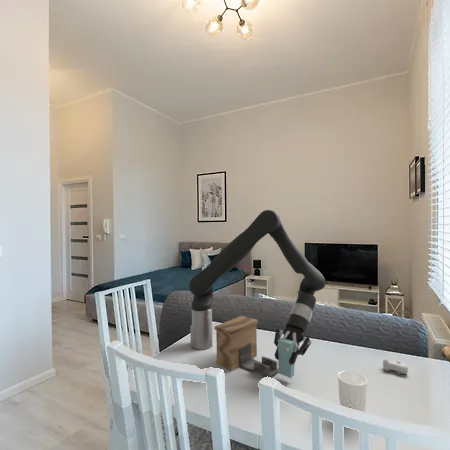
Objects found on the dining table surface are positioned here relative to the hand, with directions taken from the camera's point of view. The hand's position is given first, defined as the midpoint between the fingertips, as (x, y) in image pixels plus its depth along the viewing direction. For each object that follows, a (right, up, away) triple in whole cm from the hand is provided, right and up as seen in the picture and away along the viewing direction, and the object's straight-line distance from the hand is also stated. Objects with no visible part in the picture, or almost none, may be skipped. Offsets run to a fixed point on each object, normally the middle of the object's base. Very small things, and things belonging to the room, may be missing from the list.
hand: (283, 361), depth 100 cm
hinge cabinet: (-11, -8, +12) cm, 18 cm away
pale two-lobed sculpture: (+43, -7, +6) cm, 44 cm away
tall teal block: (+1, -5, +1) cm, 6 cm away
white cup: (+17, -8, -16) cm, 24 cm away
